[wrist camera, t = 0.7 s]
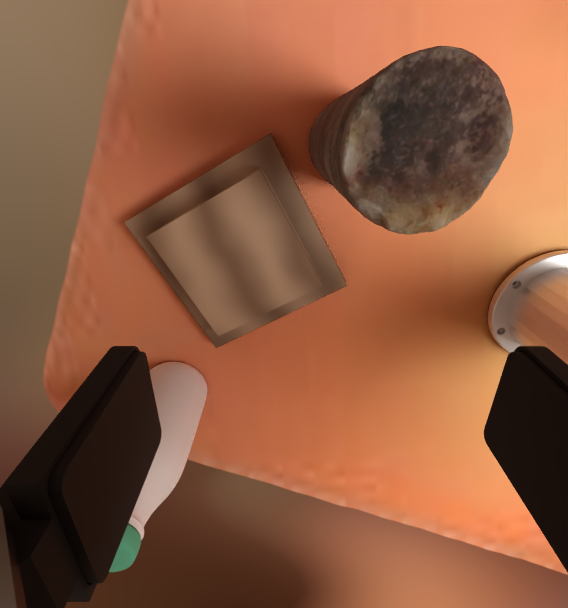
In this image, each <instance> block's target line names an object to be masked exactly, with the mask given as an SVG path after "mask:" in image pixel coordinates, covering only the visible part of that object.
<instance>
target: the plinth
mask: <svg viewBox="0 0 568 608" xmlns="http://www.w3.org/2000/svg"><path fill="white" fill-rule="evenodd" d="M124 223H125V225H126V226H127V227H128V229H129V230H130V232H131V233H132V234H133V236H134V237H135V238H136V240H137V241H138V242H139V244H140V245H141V246H142V248H143V249H144V251H145V252H146V253H147V255H148V256H149V257H150V259H151V260H152V261H153V263H154V264H155V265H156V267H157V268H158V270H159V271H160V272H161V274H162V275H163V276H164V278H165V279H166V280H167V282H168V283H169V285H170V286H171V287H172V289H173V290H174V291H175V293H176V294H177V295H178V297H179V298H180V299H181V301H182V302H183V304H184V305H185V306H186V308H187V309H188V310H189V312H190V313H191V314H192V316H193V317H194V318H195V320H196V321H197V323H198V324H199V325H200V327H201V328H202V329H203V331H204V332H205V333H206V335H207V336H208V337H209V339H210V340H211V342H212V343H213V344H214V346H215V347H216V348H217V347H219V346H221V345H224V344H226V343H228V342H230V341H232V340H234V339H236V338H238V337H240V336H242V335H245V334H247V333H249V332H251V331H253V330H255V329H257V328H259V327H261V326H263V325H266V324H268V323H270V322H272V321H274V320H276V319H278V318H280V317H282V316H284V315H287V314H289V313H291V312H293V311H295V310H297V309H299V308H301V307H303V306H305V305H308V304H310V303H312V302H314V301H316V300H318V299H320V298H322V297H324V296H326V295H329V294H331V293H333V292H335V291H337V290H339V289H341V288H343V287H345V286H347V284H346V281H345V279H344V277H343V275H342V273H341V271H340V269H339V267H338V265H337V263H336V261H335V259H334V257H333V255H332V253H331V251H330V249H329V247H328V245H327V243H326V241H325V239H324V237H323V235H322V234H321V232H320V230H319V228H318V226H317V224H316V222H315V220H314V218H313V216H312V214H311V212H310V210H309V208H308V206H307V204H306V202H305V200H304V198H303V196H302V194H301V192H300V190H299V188H298V186H297V184H296V182H295V180H294V178H293V176H292V174H291V172H290V170H289V169H288V167H287V165H286V163H285V161H284V159H283V157H282V155H281V153H280V151H279V149H278V147H277V145H276V143H275V141H274V139H273V137H272V135H271V134H269V135H267V136H266V137H264V138H262V139H261V140H259V141H257V142H256V143H254V144H252V145H251V146H249V147H248V148H246V149H244V150H243V151H241V152H239V153H238V154H236V155H234V156H233V157H231V158H229V159H228V160H226V161H224V162H223V163H221V164H220V165H218V166H216V167H215V168H213V169H211V170H210V171H208V172H206V173H205V174H203V175H201V176H200V177H198V178H197V179H195V180H193V181H192V182H190V183H188V184H187V185H185V186H183V187H182V188H180V189H178V190H177V191H175V192H173V193H172V194H170V195H169V196H167V197H165V198H164V199H162V200H160V201H159V202H157V203H155V204H154V205H152V206H150V207H149V208H147V209H146V210H144V211H142V212H141V213H139V214H137V215H136V216H134V217H132V218H131V219H129V220H127V221H126V222H124Z"/></svg>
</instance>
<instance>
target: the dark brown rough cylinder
mask: <svg viewBox="0 0 568 608" xmlns="http://www.w3.org/2000/svg"><path fill="white" fill-rule="evenodd" d="M512 132H513V123H512V114H511V108H510V105H509V101H508V99H507V97H506V94H505V90H504V87H503V85H502V83H501V81H500V78H499V77H498V75H497V74H496V73H495V72H494V71H493V70H492V69H491V68H490V67H489V66H488V65H487V64H486V63H485V62H484V61H482V60H481V59H480V58H478V57H477V56H476V55H474V54H473V53H471V52H469V51H467V50H464V49H462V48H456V47H450V46H436V47H432V48H428V49H424V50H419V51H417V52H414V53H411V54H408V55H405V56H403V57H401V58H400V59H398V60H396V61H394V62H393V63H391V64H390V65H388V66H387V67H386V68H384V69H382V70H381V71H379V72H378V73H377V74H375V75H374V76H372V77H370V78H369V79H368V80H366V81H365V82H364V83H362V84H360V85H359V86H357V87H356V88H354V89H353V90H351V91H349V92H347V93H346V94H344V95H342V96H340V97H339V98H337V99H336V100H334V101H333V102H331V103H330V104H329V105H328V106H327V107H326V108H325V109H324V110H323V111H322V112H321V113H320V114H319V116H318V117H317V119H316V121H315V122H314V124H313V126H312V128H311V133H310V137H309V151H310V156H311V159H312V162H313V164H314V166H315V168H316V170H317V171H318V172H319V173H320V174H321V175H322V177H323V178H324V179H325V180H327V181H328V182H329V183H330V184H331V185H332V186H334V187H335V189H336V190H337V191H339V193H340V194H341V195H342V196H344V197H345V198H346V199H347V201H348V202H349V203H351V205H352V206H353V207H354V208H355V209H356V210H358V211H359V212H360V213H361V214H362V215H363V216H364V217H366V218H367V219H369V220H370V221H372V222H373V223H375V224H377V225H379V226H382V227H384V228H385V229H387V230H389V231H392V232H396V233H401V234H417V233H421V232H433V231H436V230H438V229H440V228H442V227H444V226H447V225H448V224H449V223H450V222H451V221H453V220H455V219H457V218H458V217H460V216H461V215H463V214H464V213H465V212H466V211H468V210H469V209H470V208H471V207H472V206H473V205H474V203H475V202H477V201H478V200H479V199H480V198H481V196H482V194H483V192H484V190H485V189H486V188H487V186H488V185H489V183H490V181H491V180H492V179H493V177H494V176H495V174H496V173H497V172H498V170H499V168H500V166H501V164H502V162H503V160H504V159H505V157H506V156H507V153H508V151H509V146H510V141H511V137H512Z"/></svg>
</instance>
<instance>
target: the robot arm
mask: <svg viewBox="0 0 568 608" xmlns="http://www.w3.org/2000/svg"><path fill="white" fill-rule="evenodd" d="M488 325H489V329H490V332H491V334H492V336H493V337H494V339H495V340H496V341H497V342H498V344H499V345H500V346H501V347H502V348H504V349H505V350H506V351H507V352H509V353H510V354H509V355H508V357H507V360H506V363H505V366H504V369H503V373H502V376H501V379H500V382H499V385H498V388H497V391H496V394H495V397H494V401H493V404H492V407H491V410H490V413H489V416H488V419H487V422H486V425H485V429H484V438H485V441H486V443H487V445H488V447H489V448H490V450H491V452H492V453H493V455H494V456H495V458H496V460H497V461H498V463H499V464H500V466H501V467H502V469H503V471H504V472H505V474H506V475H507V477H508V479H509V480H510V482H511V483H512V485H513V487H514V488H515V490H516V491H517V493H518V494H519V496H520V498H521V499H522V501H523V502H524V504H525V506H526V507H527V509H528V510H529V512H530V513H531V515H532V517H533V518H534V520H535V521H536V523H537V525H538V526H539V528H540V529H541V531H542V533H543V534H544V536H545V537H546V539H547V540H548V542H549V544H550V545H551V547H552V548H553V550H554V552H555V553H556V555H557V556H558V558H559V559H560V561H561V563H562V564H563V566H564V567H565V569H566V571H567V572H568V250H561V251H553V252H550V253H546V254H542V255H540V256H538V257H535V258H533V259H531V260H529V261H527V262H526V263H524V264H523V265H521V266H519V267H518V268H517V269H516V270H514V271H513V272H512V273H511V274H510V275H508V277H507V278H506V279H505V280H504V281H503V282H502V283H501V284H500V286H499V288H498V289H497V291H496V292H495V294H494V296H493V298H492V301H491V303H490V307H489V312H488ZM161 435H162V431H161V425H160V420H159V415H158V410H157V405H156V400H155V395H154V391H153V386H152V381H151V376H150V371H149V366H148V361H147V357H146V354H145V352H140V351H139V349H138V347H136V346H113V347H111V348H110V349H109V351H108V352H107V353H106V354H105V356H104V357H103V358H102V360H101V361H100V362H99V363H98V365H97V366H96V367H95V368H94V370H93V371H92V372H91V373H90V375H89V376H88V377H87V379H86V380H85V381H84V382H83V384H82V385H81V386H80V387H79V389H78V390H77V391H76V392H75V394H74V395H73V396H72V398H71V399H70V400H69V401H68V403H67V404H66V405H65V406H64V408H63V409H62V410H61V411H60V413H59V414H58V415H57V417H56V418H55V419H54V420H53V422H52V423H51V424H50V425H49V427H48V428H47V429H46V430H45V432H44V433H43V434H42V436H41V437H40V438H39V439H38V441H37V442H36V443H35V444H34V446H33V447H32V448H31V450H30V451H29V452H28V453H27V455H26V456H25V457H24V459H23V460H22V461H21V462H20V463H19V465H18V466H17V467H16V468H15V470H14V471H13V472H12V473H11V475H10V476H9V477H8V479H7V480H6V481H5V483H4V484H3V485H2V487H1V488H0V608H64V607H65V605H66V603H67V602H89V601H90V599H91V596H92V594H93V592H94V589H95V587H96V584H97V583H102V582H103V581H104V580H105V579H106V577H107V575H108V573H109V571H110V568H111V565H112V563H113V560H114V558H115V555H116V553H117V550H118V548H119V545H120V543H121V540H122V538H123V535H124V533H125V530H126V528H127V525H128V523H129V520H130V518H131V515H132V513H133V510H134V508H135V505H136V503H137V500H138V497H139V495H140V492H141V490H142V487H143V485H144V482H145V480H146V477H147V475H148V472H149V470H150V467H151V465H152V462H153V460H154V457H155V455H156V452H157V450H158V447H159V445H160V441H161Z"/></svg>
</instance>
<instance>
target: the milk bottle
mask: <svg viewBox="0 0 568 608" xmlns="http://www.w3.org/2000/svg"><path fill="white" fill-rule="evenodd" d="M150 376H151V381H152V386H153V391H154V395H155V400H156V405H157V410H158V415H159V420H160V425H161V431H162V435H161V441H160V445H159V447H158V450H157V452H156V455H155V457H154V460H153V462H152V465H151V467H150V470H149V472H148V475H147V477H146V480H145V482H144V485H143V487H142V490H141V492H140V495H139V497H138V500H137V503H136V505H135V508H134V510H133V513H132V515H131V518H130V520H129V523H128V525H127V528H126V530H125V533H124V535H123V538H122V540H121V543H120V545H119V548H118V550H117V553H116V555H115V558H114V560H113V563H112V565H111V568H110V571H109V572H117V571H121V570H124V569H126V568H128V567H129V566H131V564H132V563H133V562H134V560H135V558H136V556H137V553H138V551H139V548H140V545H141V540H142V539H143V536H144V525H145V523H146V522H147V520H148V519H149V517H150V516H151V514H152V513H153V512H154V510H155V509H156V508H157V507H158V506H159V505H160V504H161V503H162V502H163V501H164V500H165V499H166V498H167V496H168V495H169V494H170V493H171V491H172V490H173V489H174V487H175V486H176V484H177V482H178V481H179V478H180V477H181V474H182V472H183V470H184V467H185V464H186V461H187V459H188V456H189V453H190V450H191V447H192V443H193V440H194V437H195V434H196V431H197V428H198V424H199V421H200V418H201V415H202V411H203V408H204V405H205V401H206V398H207V393H208V389H207V384H206V381H205V379H204V377H203V376H202V374H201V373H200V372H199V371H198V370H197V369H195V368H194V367H192V366H190V365H188V364H185V363H182V362H175V361H174V362H165V363H162V364H159V365H157V366H155V367H154V368H152V369H151V370H150Z"/></svg>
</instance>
